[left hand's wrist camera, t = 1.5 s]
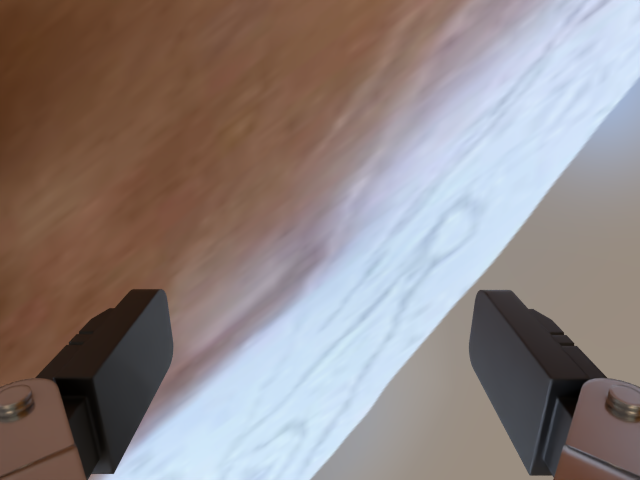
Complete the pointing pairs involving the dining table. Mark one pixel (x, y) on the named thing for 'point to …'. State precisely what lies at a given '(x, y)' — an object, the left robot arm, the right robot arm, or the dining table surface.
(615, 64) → the dining table surface
